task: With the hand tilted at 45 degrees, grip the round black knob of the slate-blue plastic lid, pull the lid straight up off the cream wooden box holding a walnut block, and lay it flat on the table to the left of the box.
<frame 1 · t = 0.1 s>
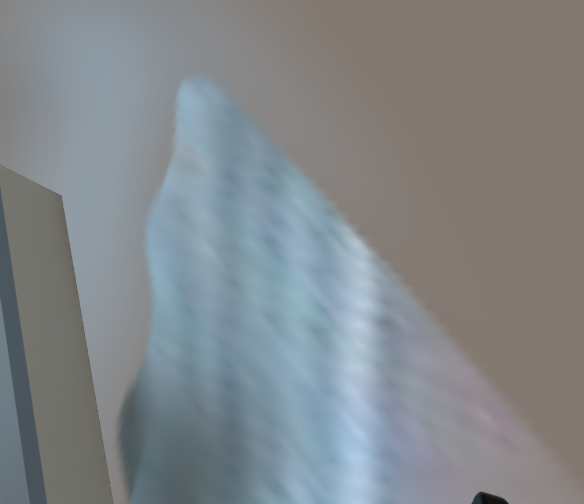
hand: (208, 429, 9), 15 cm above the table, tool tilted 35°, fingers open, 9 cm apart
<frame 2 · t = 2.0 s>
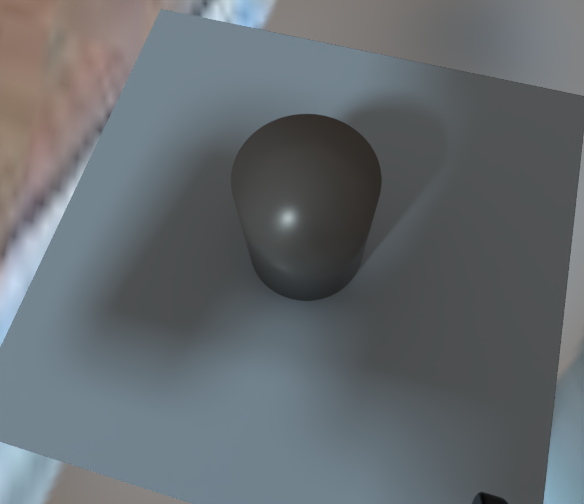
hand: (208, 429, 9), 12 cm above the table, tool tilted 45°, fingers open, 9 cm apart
lid: (306, 265, 19), point 4 cm above the table, touching box
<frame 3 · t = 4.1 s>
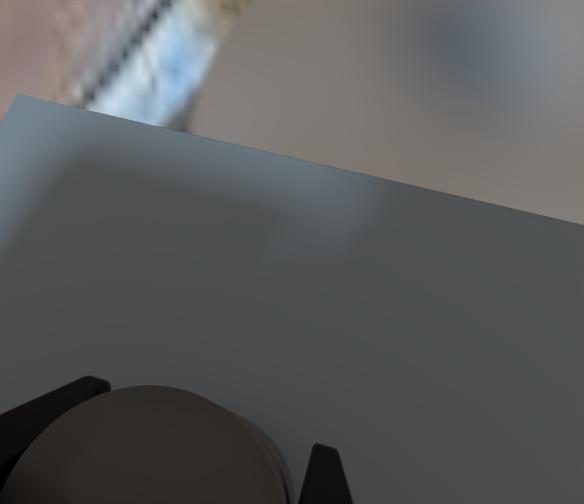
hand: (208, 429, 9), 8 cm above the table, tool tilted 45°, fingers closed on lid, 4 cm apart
lid: (218, 497, 12), point 4 cm above the table, touching box, gripper
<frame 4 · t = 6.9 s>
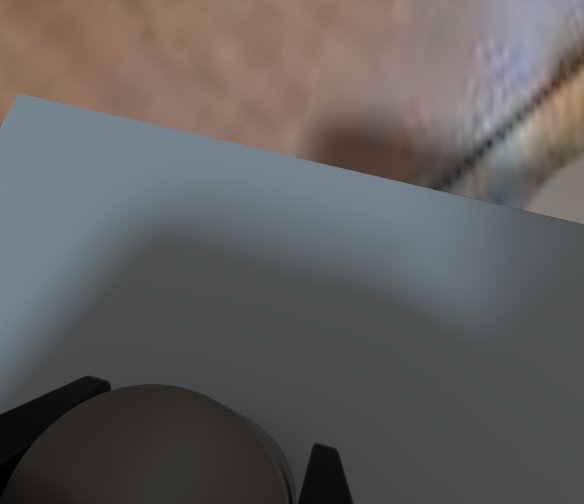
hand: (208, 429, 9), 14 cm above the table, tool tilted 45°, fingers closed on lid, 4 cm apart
lid: (219, 496, 12), point 10 cm above the table, touching gripper
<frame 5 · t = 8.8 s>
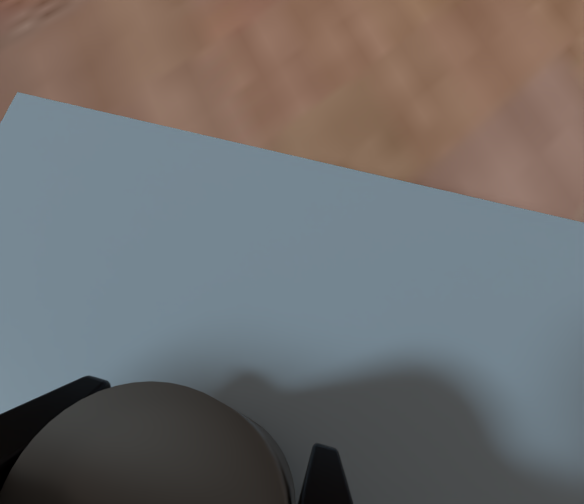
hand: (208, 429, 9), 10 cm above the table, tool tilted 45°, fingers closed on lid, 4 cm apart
lid: (218, 495, 12), point 7 cm above the table, touching gripper
when the fingers open (7 cm above the table, at t = 9.9 s): lid drops 3 cm, on the table.
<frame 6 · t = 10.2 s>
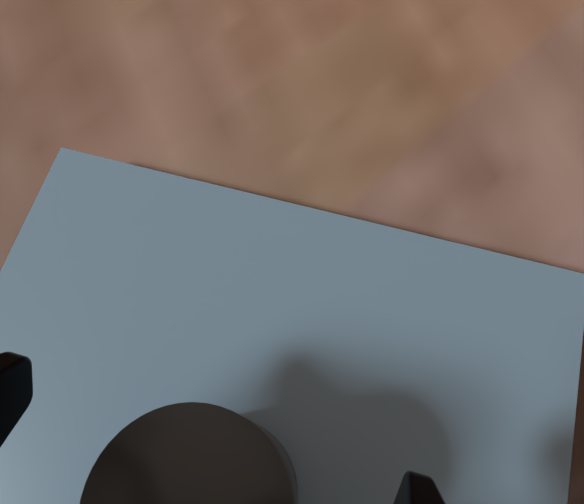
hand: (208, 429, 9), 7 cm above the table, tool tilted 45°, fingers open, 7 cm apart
lid: (233, 489, 15), on the table
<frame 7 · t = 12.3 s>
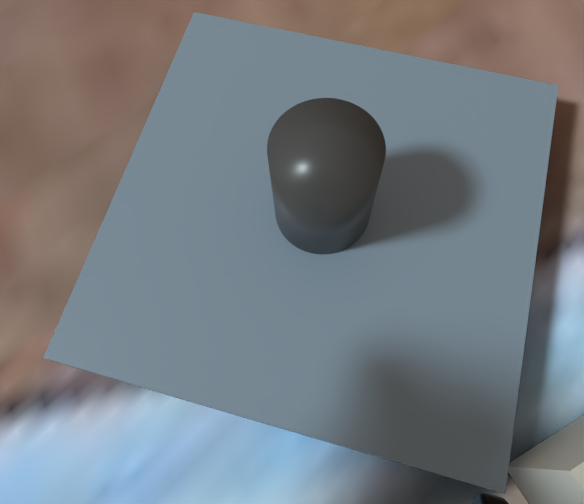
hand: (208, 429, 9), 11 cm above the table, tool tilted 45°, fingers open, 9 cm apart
lid: (321, 228, 22), on the table
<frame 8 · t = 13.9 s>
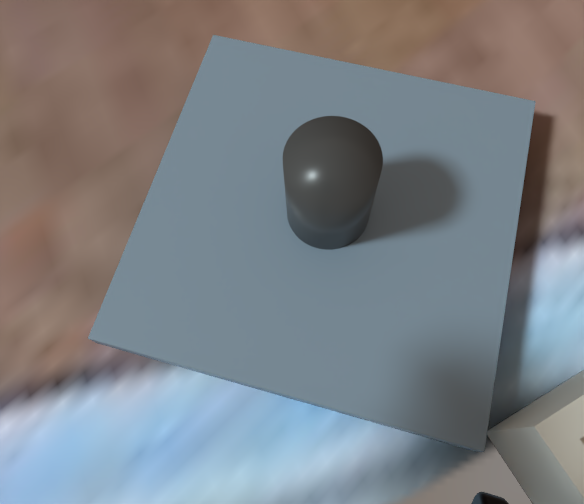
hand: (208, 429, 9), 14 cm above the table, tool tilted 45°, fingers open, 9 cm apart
lid: (326, 227, 25), on the table
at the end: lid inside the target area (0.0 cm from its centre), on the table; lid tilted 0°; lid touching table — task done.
